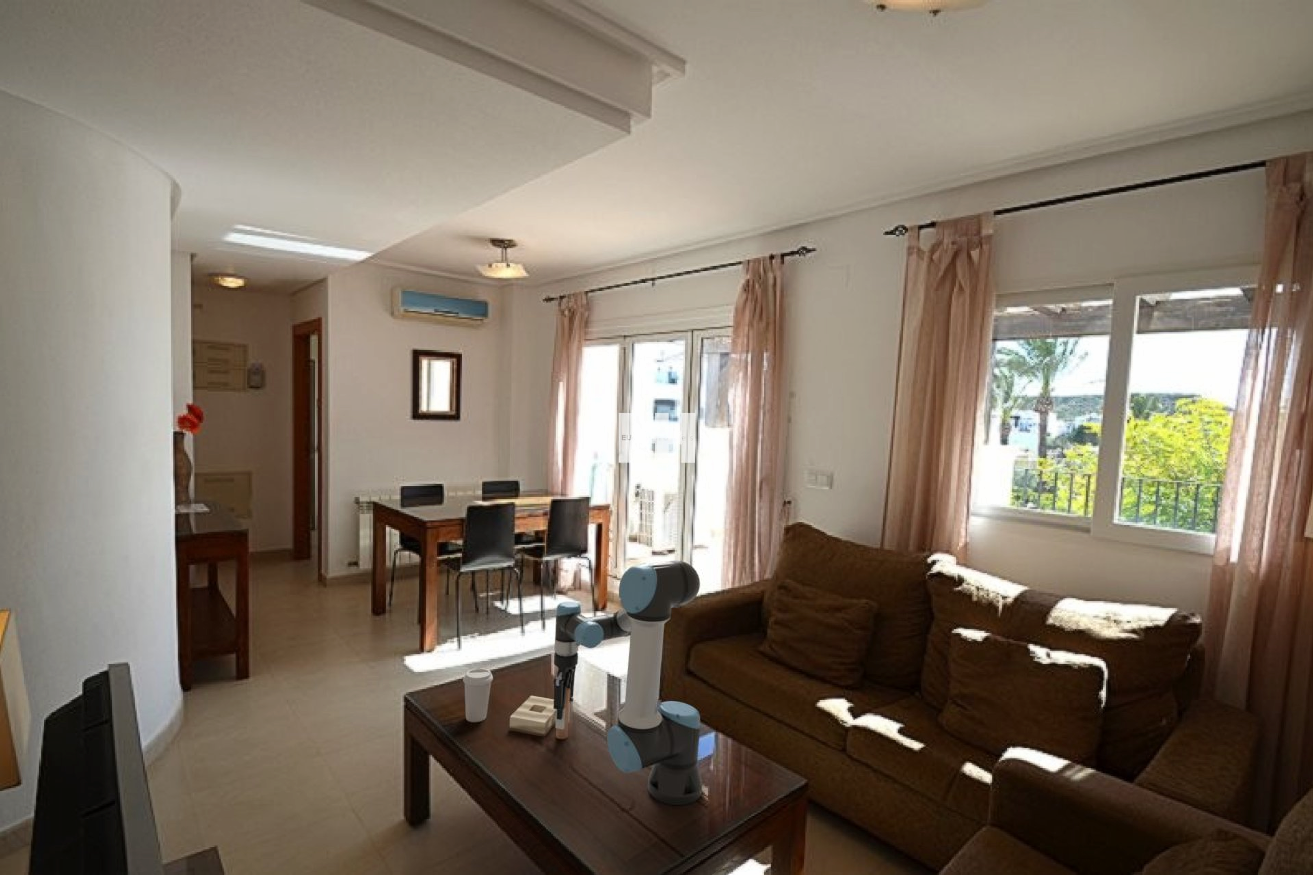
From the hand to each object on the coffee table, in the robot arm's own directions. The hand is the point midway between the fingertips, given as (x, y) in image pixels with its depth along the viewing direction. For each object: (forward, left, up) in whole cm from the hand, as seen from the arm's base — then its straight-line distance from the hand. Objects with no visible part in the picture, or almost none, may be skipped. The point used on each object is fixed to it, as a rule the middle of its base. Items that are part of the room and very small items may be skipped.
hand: (562, 724), depth 199 cm
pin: (0, 0, -4) cm, 4 cm away
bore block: (+6, +11, -4) cm, 13 cm away
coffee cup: (+2, +31, -4) cm, 31 cm away
